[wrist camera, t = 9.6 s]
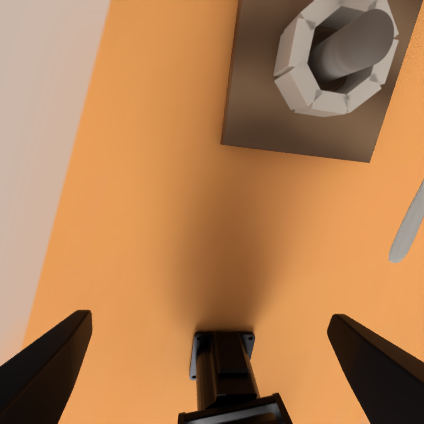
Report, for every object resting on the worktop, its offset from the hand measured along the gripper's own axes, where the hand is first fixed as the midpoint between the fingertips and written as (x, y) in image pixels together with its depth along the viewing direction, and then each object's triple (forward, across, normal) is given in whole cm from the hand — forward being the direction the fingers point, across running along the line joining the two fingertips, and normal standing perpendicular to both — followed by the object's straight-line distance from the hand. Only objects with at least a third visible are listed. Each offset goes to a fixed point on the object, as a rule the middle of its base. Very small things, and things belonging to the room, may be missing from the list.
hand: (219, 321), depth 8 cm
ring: (+10, -7, -12) cm, 17 cm away
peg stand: (+12, -7, -12) cm, 18 cm away
